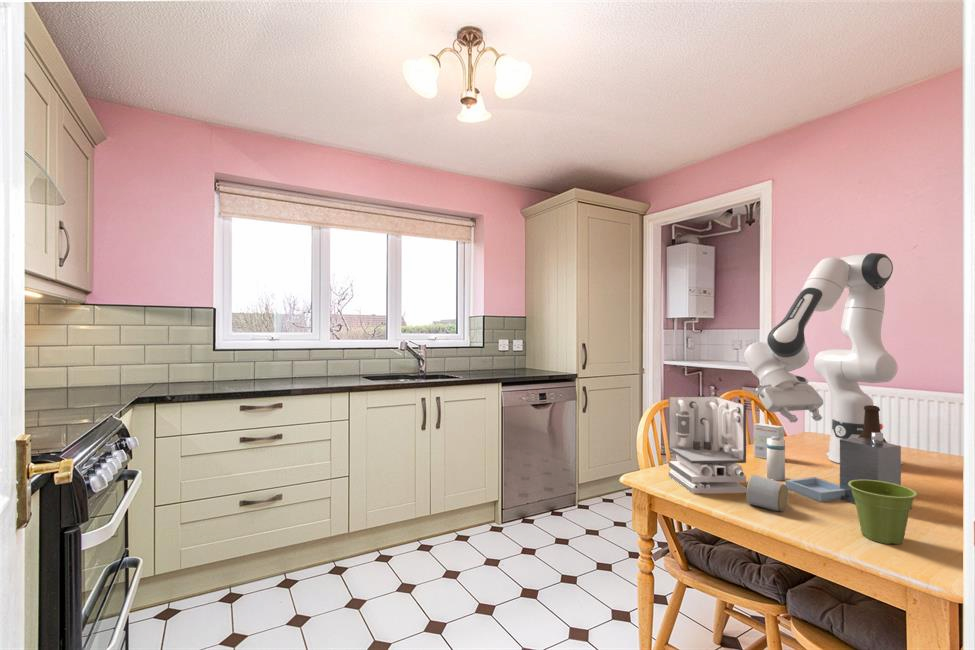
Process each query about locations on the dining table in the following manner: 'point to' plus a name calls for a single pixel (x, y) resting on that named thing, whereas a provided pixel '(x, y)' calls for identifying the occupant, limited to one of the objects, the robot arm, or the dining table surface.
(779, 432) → the ink box
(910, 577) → the dining table surface
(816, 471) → the dining table surface
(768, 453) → the cylinder
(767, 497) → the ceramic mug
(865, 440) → the block
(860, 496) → the plant pot
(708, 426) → the pipe room model
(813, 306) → the robot arm
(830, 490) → the tray
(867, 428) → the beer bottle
